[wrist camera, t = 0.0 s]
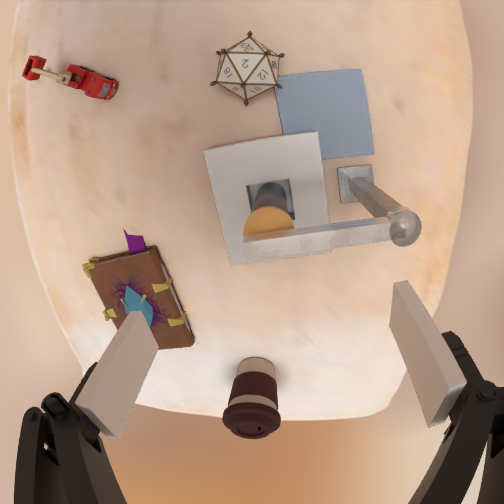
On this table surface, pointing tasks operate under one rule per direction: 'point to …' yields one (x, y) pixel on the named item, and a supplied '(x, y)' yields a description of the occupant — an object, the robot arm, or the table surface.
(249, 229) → the plug
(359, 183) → the post
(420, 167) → the table surface
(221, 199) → the socket block
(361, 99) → the pad
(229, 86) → the game die
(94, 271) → the book
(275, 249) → the silver ball-ended lever
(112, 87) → the toy fire truck
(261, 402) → the coffee cup
